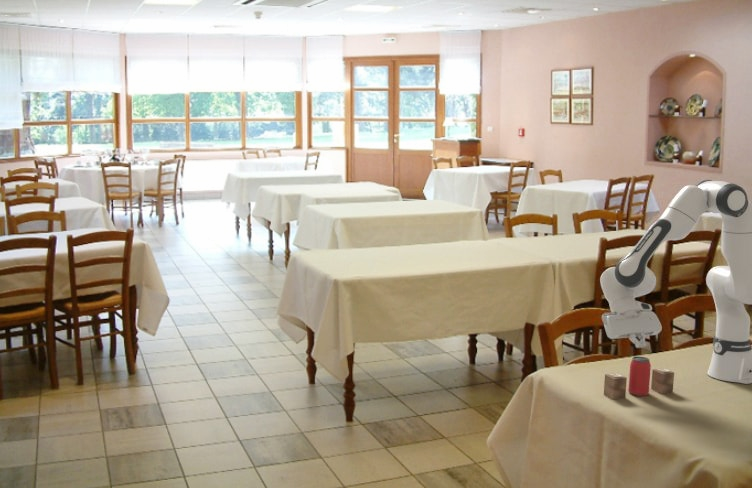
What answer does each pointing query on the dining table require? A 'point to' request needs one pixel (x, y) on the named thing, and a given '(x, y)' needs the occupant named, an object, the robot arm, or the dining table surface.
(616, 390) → the walnut block
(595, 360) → the dining table surface
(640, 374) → the beer can
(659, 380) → the walnut block
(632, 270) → the robot arm
